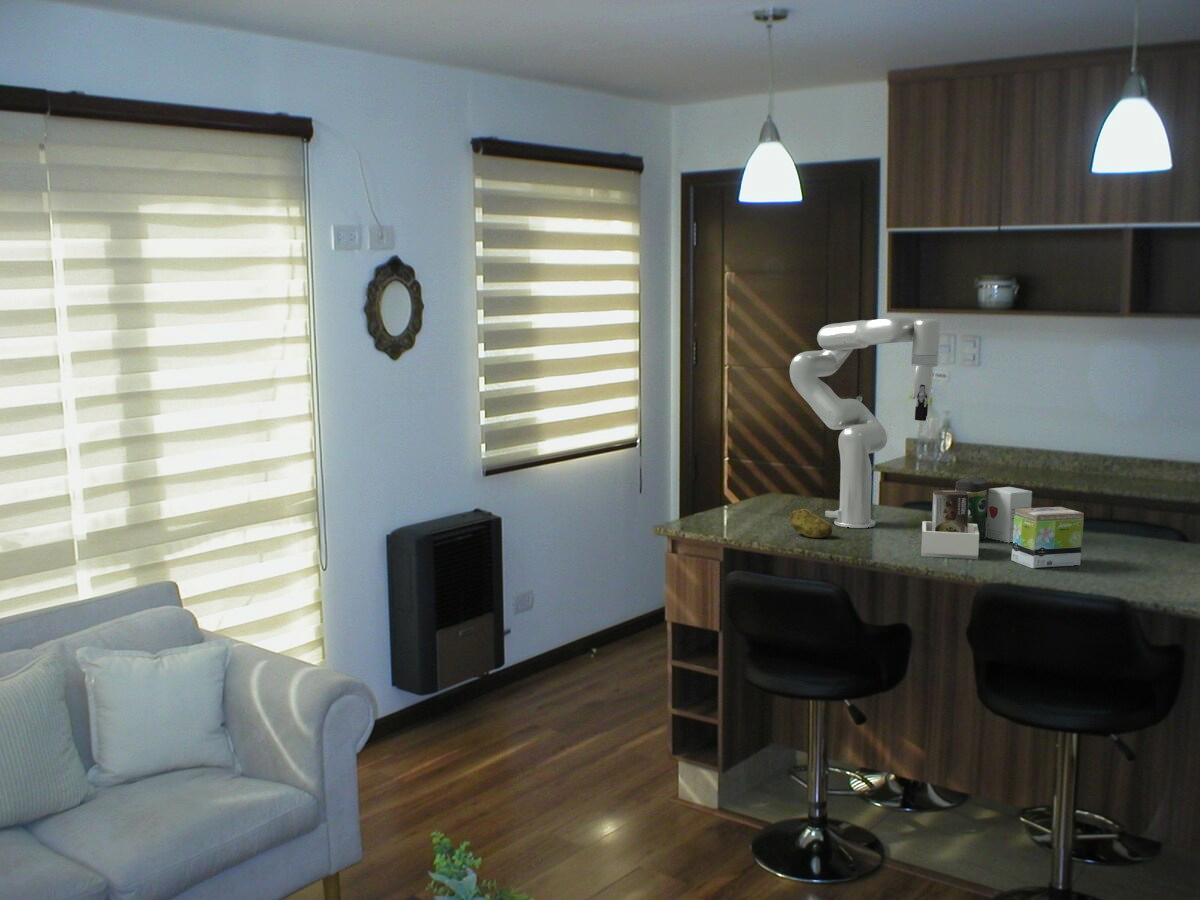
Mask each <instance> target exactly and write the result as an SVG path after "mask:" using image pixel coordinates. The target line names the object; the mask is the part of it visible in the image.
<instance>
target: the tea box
mask: <svg viewBox="0 0 1200 900" xmlns="http://www.w3.org/2000/svg"><path fill="white" fill-rule="evenodd" d="M1084 515H1085V513H1084V512H1081V511H1077V510H1075V509H1070V508H1066V507H1063V506H1053V507H1052V506H1048V507H1031V508H1021V509H1015V516H1014V529H1013V543H1011V544H1012V548H1011V556H1010V557H1011V558H1010V559H1011V561H1012V562H1015V563H1017V564H1019V565H1022V566H1023V567H1024V566H1026V567H1028V568H1031V569H1037V568H1038V569H1039V568H1051V567H1053V568H1054V567H1056V568H1057V567H1075V566H1074V565H1079V566H1080V565H1081V560H1082V559H1081V558H1082V549H1083V548H1082V547H1083V533H1084V520H1085V519H1084V518H1085V517H1084Z"/></svg>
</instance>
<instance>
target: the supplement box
mask: <svg viewBox="0 0 1200 900" xmlns="http://www.w3.org/2000/svg"><path fill="white" fill-rule="evenodd" d="M987 492H988V495H987V498H988V499H987V514H986V516H987V517H986V537H988V538H987V539H990V538H992V539H991V540H994V539H996V540H995V541H998V540H1000V541H999V542H1002V541H1004V542H1003V543H1005V542H1008V543H1007V544H1010V543H1009V542H1013V529H1014V516H1015V509H1021V508H1032V500H1033V491H1032V490H1028V489H1023V488H1019V487H1018V488H1017V487H1013V486H1005V487H1004V486H1002V487H994V488H993V487H992V488H988V491H987ZM986 537H985V538H986Z"/></svg>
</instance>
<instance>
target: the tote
mask: <svg viewBox="0 0 1200 900" xmlns="http://www.w3.org/2000/svg"><path fill="white" fill-rule="evenodd" d="M979 543H980V540H979V531H978V527H977V524H968V533H956V532H936V531H932V521H926V520H925V521H922V524H921V551H920V553H921V555H920V556H921V557H929V558H946V559H965V560H966V559H967V560H979V548H980V547H979V546H980V545H979Z"/></svg>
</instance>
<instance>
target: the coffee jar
mask: <svg viewBox="0 0 1200 900" xmlns="http://www.w3.org/2000/svg"><path fill="white" fill-rule="evenodd" d="M954 487H955V490H954V491H966V492H967V494H968V495H969V500H968V524H977V527H978V531H979V541H983V539H985V538H986V533H987V517H986V516H987V514H986V504H987V502H986V501H987V492H988V481H987V480H986V479H985V478H984V477H981V476H980V477H978V476H970V477H966V478H962V479H959V480H957V481H956V482H955V486H954Z"/></svg>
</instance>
